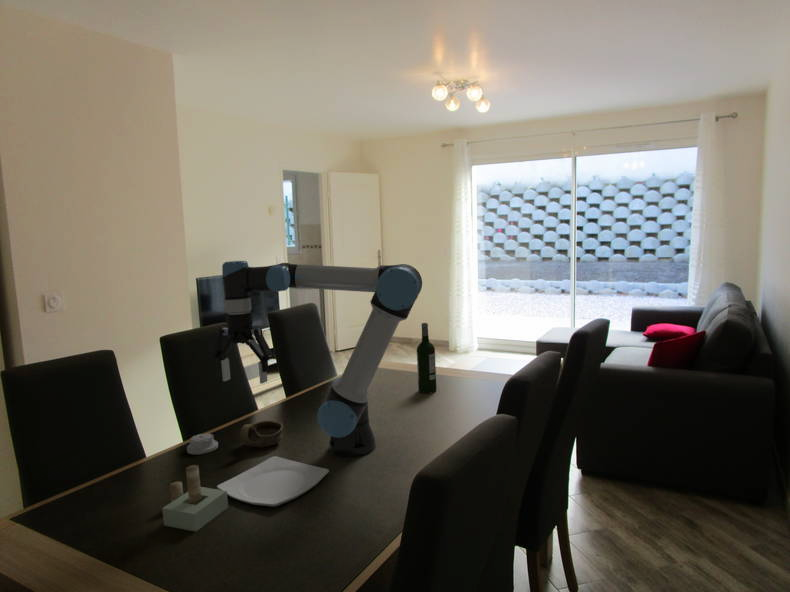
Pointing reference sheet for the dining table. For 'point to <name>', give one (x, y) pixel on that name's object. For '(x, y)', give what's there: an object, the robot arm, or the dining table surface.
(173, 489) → the short dowel
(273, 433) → the brown mug
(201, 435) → the mechanical component
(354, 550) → the dining table surface
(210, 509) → the hole block
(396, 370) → the dining table surface
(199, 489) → the long dowel
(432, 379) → the wine bottle
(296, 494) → the plate
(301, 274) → the robot arm
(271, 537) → the dining table surface
